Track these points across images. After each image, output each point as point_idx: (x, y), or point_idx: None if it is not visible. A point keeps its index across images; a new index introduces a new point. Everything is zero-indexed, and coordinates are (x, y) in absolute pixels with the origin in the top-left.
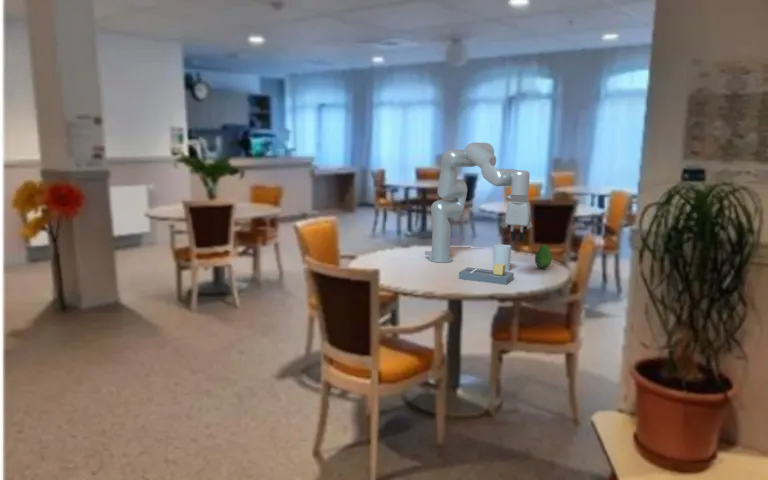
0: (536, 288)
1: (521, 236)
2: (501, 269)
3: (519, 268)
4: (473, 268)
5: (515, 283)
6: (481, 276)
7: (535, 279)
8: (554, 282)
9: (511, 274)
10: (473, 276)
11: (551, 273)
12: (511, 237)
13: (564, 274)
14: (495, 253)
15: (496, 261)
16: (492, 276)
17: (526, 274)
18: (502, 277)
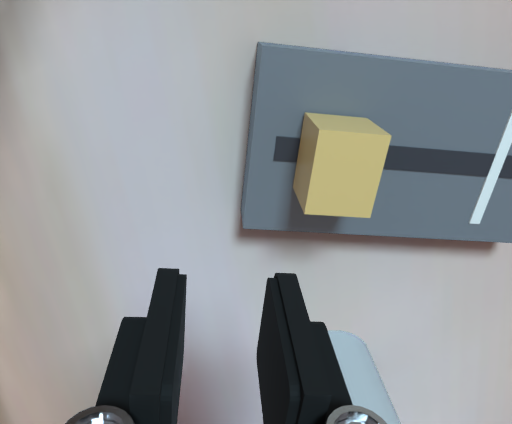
0: (45, 26)
1: (129, 348)
2: (321, 122)
3: (248, 420)
4: (492, 230)
5: (209, 110)
6: (442, 64)
7: (122, 258)
8: (2, 238)
9: (248, 176)
10: (492, 69)
11: (85, 400)
12: (317, 324)
13: (22, 408)
14: (394, 419)
15: (368, 374)
16: (369, 57)
17: (194, 335)
18: (295, 52)
